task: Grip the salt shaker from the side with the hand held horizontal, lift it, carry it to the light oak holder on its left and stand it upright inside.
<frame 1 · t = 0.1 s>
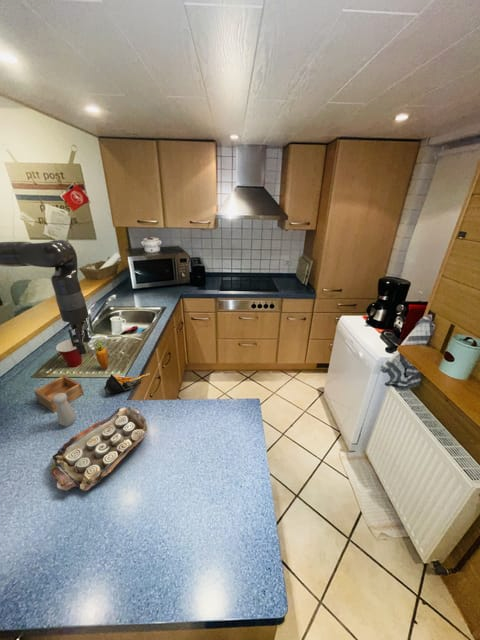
hand: (84, 347, 88), 29 cm above the worktop, tool pointing down, fingers open, 8 cm apart
baking tray: (106, 451, 84), on the worktop
salt shaker: (69, 422, 94), on the worktop
plastic cup: (75, 364, 128), on the worktop
carrot: (105, 369, 124), on the worktop
holder: (61, 397, 106), on the worktop
fried shrimp in bowl: (128, 387, 113), on the worktop
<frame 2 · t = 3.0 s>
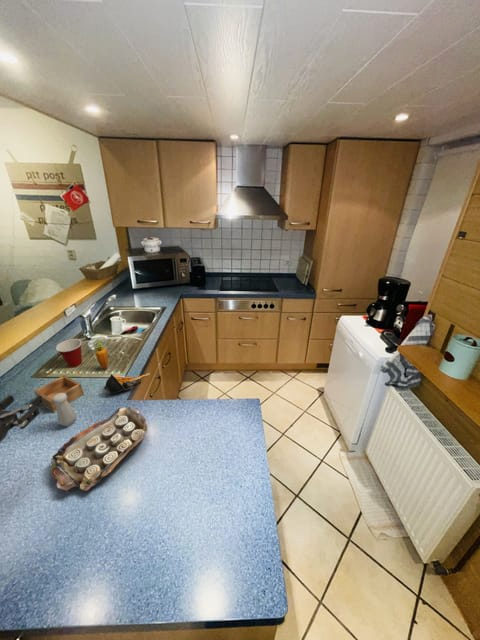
hand: (26, 397, 75), 22 cm above the worktop, tool horizontal, fingers open, 8 cm apart
nothing on the worktop moved.
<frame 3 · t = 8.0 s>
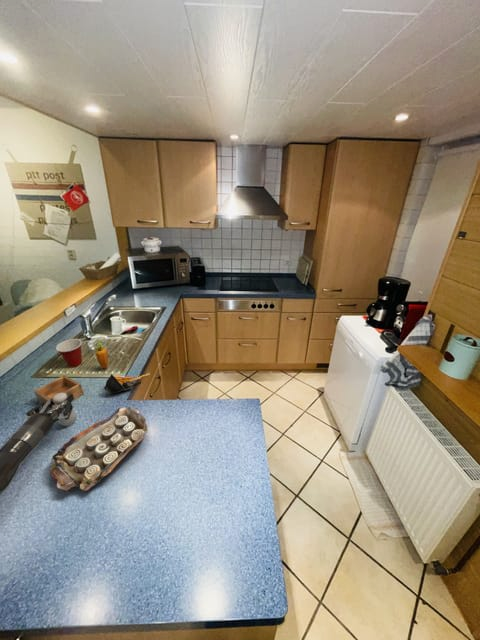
hand: (65, 395, 92), 10 cm above the worktop, tool horizontal, fingers closed on salt shaker, 4 cm apart
salt shaker: (69, 422, 94), on the worktop, touching gripper
everything else where it was.
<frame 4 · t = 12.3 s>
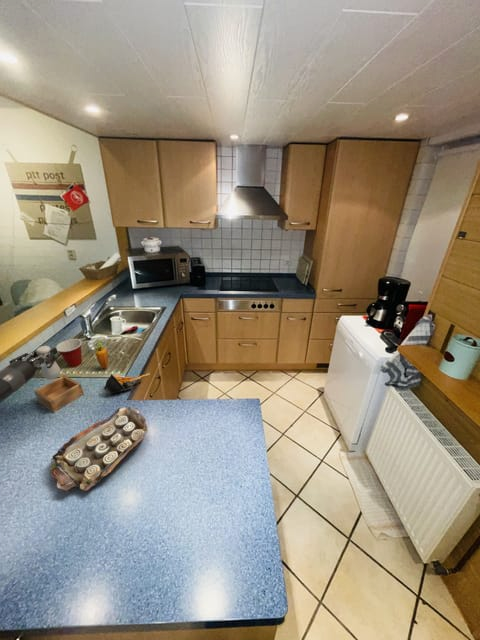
hand: (49, 349, 95), 25 cm above the worktop, tool horizontal, fingers closed on salt shaker, 4 cm apart
salt shaker: (53, 377, 97), point 14 cm above the worktop, touching gripper
everything else where it was.
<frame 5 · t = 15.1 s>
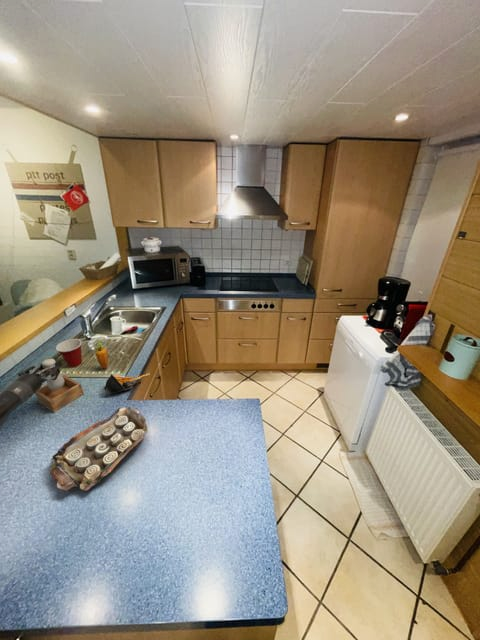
hand: (54, 362, 101), 16 cm above the worktop, tool horizontal, fingers closed on salt shaker, 4 cm apart
salt shaker: (57, 387, 103), point 6 cm above the worktop, touching gripper
everything else where it was.
when the fingers open (11 cm above the worktop, at t = 16.9 s): salt shaker moves 3 cm, resting on holder.
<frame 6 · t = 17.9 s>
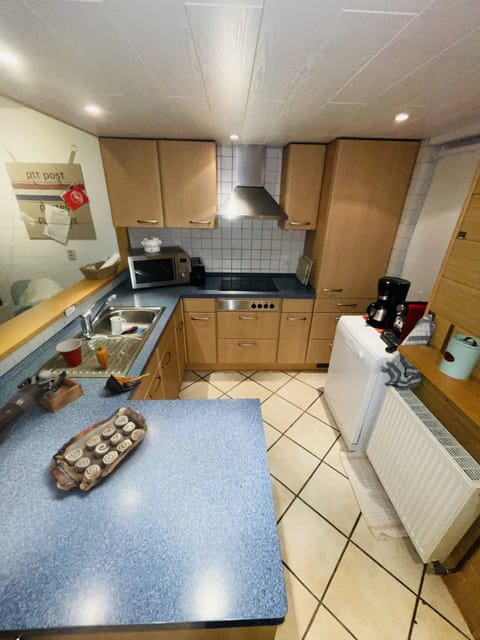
hand: (54, 372, 102), 12 cm above the worktop, tool horizontal, fingers open, 8 cm apart
salt shaker: (53, 397, 105), point 1 cm above the worktop, touching gripper, holder
everything else where it was.
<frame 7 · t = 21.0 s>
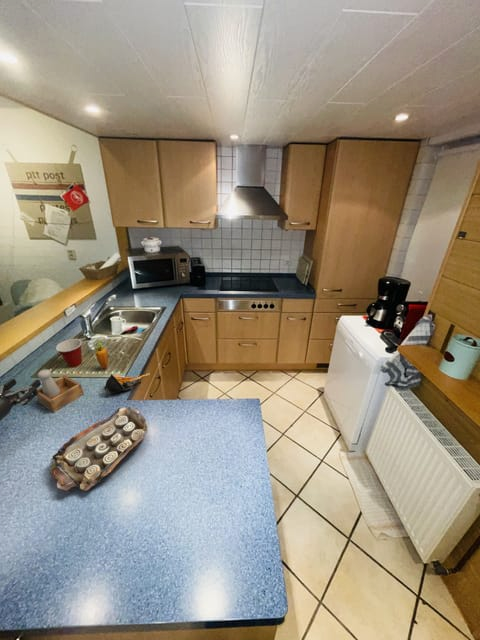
hand: (26, 381, 89), 18 cm above the worktop, tool horizontal, fingers open, 8 cm apart
salt shaker: (53, 397, 105), point 1 cm above the worktop, touching holder
everything else where it was.
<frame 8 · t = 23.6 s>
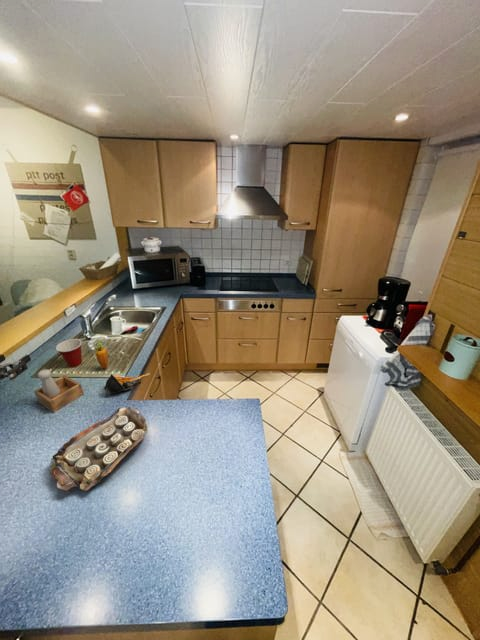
hand: (16, 356, 84), 28 cm above the worktop, tool horizontal, fingers open, 8 cm apart
nothing on the worktop moved.
at the end: salt shaker inside the target area in the holder (2.8 cm from its centre), point 0.8 cm above the holder's base; salt shaker tilted 0° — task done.
